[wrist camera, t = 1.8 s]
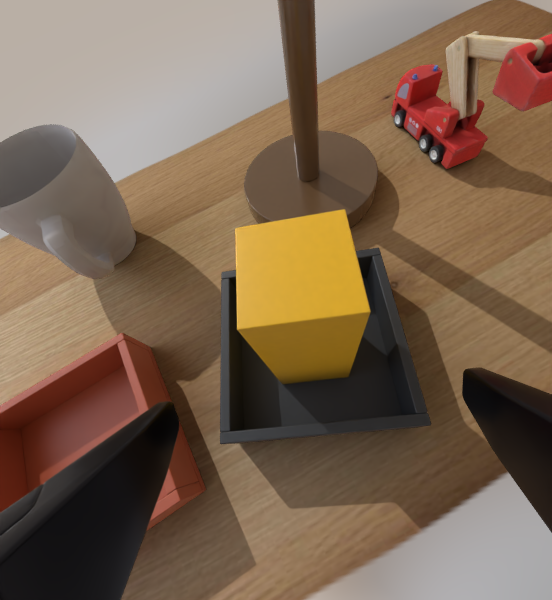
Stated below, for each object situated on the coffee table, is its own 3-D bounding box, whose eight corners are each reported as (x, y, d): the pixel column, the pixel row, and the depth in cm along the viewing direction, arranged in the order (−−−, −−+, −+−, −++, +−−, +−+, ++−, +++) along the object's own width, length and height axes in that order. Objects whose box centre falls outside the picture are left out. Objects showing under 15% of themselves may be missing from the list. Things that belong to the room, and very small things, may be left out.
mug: (64, 238, 30) (-40, 159, 22) (138, 199, 31) (67, 107, 23) (85, 327, 25) (-41, 269, 16) (175, 277, 26) (100, 196, 17)
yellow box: (348, 377, 19) (371, 312, 9) (282, 384, 20) (236, 330, 10) (336, 315, 21) (345, 208, 11) (276, 323, 22) (234, 227, 12)
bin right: (413, 427, 18) (432, 425, 14) (237, 443, 19) (219, 444, 16) (371, 274, 23) (379, 247, 20) (235, 294, 24) (221, 271, 21)
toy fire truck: (414, 105, 31) (448, -26, 22) (505, 186, 24) (602, 48, 16) (385, 116, 30) (408, -10, 22) (469, 201, 24) (547, 70, 16)
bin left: (206, 489, 18) (180, 500, 15) (41, 603, 17) (-26, 641, 14) (150, 346, 23) (122, 332, 20) (20, 426, 22) (-33, 424, 19)
